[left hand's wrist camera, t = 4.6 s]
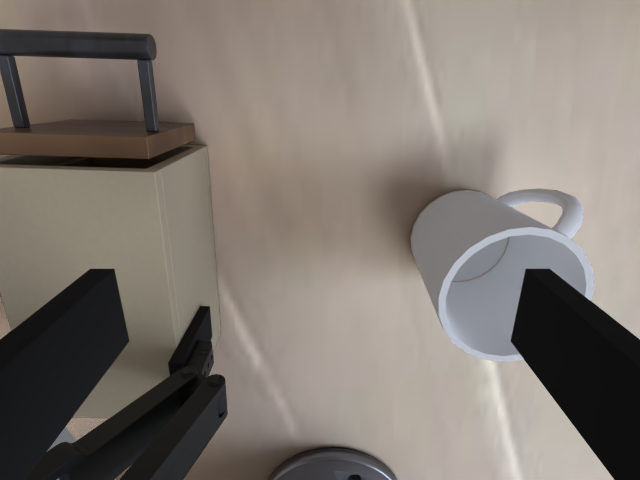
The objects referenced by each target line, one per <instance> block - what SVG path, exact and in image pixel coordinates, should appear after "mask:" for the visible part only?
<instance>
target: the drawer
mask: <svg viewBox="0 0 640 480" xmlns="http://www.w3.org/2000/svg"><path fill="white" fill-rule="evenodd" d="M14 56H35V57H66V58H97V59H128V60H138V69H139V77H140V85H141V93H142V101H143V108H144V116H145V122H133V121H102V120H64V121H57V122H49V123H41V124H33V125H30V123H29V118H28V114H27V110H26V105H25V101H24V97H23V92H22V88H21V84H20V79H19V75H18V70H17V66H16V62H15V57H14ZM155 58H156V44H155V40H154V38H153V36H152V35H150V34H135V33H104V32H74V31H43V30H12V29H0V71H1V75H2V79H3V83H4V87H5V92H6V96H7V100H8V104H9V108H10V112H11V116H12V120H13V124H14V127H10V128H2V129H0V155H33V156H65V157H79V158H76V159H72V160H69V161H65V162H62V163H58V164H55V165H51V166H73V167H105V168H137V169H147V168H149V167H151V166H153V165H156V164H158V163H160V162H162V161H164V160H166V159H169V158H153V157H155V156H158V155H160V154H162V153H165V152H167V151H170V150H172V149H175V148H177V147H179V146H182V145H184V144H187V143H189V142H192V141H194V140H195V129H194V123H165V122H159V121H158V112H157V103H156V95H155V86H154V77H153V68H152V61H150V60H155Z"/></svg>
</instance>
